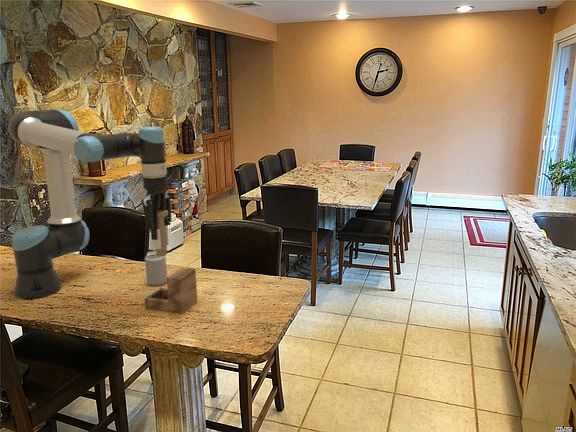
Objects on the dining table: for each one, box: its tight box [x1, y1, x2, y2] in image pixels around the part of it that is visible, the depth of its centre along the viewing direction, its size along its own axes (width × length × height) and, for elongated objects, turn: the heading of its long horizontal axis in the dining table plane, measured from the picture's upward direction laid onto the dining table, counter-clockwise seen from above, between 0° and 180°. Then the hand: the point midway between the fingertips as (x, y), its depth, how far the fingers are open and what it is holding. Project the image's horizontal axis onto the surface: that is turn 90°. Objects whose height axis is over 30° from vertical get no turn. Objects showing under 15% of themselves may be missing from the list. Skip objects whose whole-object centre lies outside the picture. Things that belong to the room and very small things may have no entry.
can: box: [144, 250, 168, 287], centre depth 177 cm, size 8×8×12 cm
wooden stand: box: [144, 266, 198, 315], centre depth 158 cm, size 14×10×12 cm
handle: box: [155, 210, 168, 257], centre depth 153 cm, size 5×6×15 cm
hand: (160, 246), depth 154 cm, fingers closed on handle, 4 cm apart
